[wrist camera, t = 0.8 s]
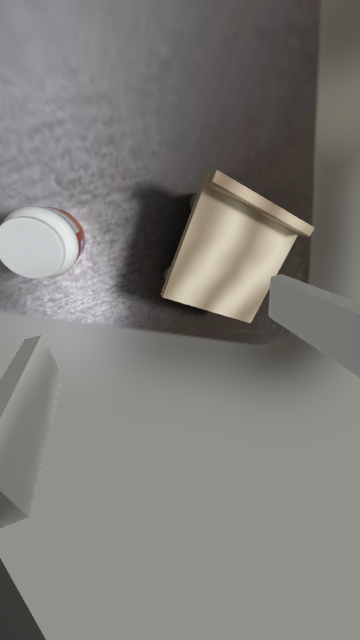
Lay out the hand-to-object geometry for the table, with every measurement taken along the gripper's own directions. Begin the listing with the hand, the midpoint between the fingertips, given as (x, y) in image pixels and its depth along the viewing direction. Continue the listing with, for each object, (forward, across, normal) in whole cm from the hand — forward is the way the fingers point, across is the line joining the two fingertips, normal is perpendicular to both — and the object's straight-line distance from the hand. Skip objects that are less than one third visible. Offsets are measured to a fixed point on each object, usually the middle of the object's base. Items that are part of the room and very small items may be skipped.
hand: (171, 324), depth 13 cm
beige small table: (+20, +12, -2) cm, 23 cm away
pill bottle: (+21, -8, +4) cm, 23 cm away
